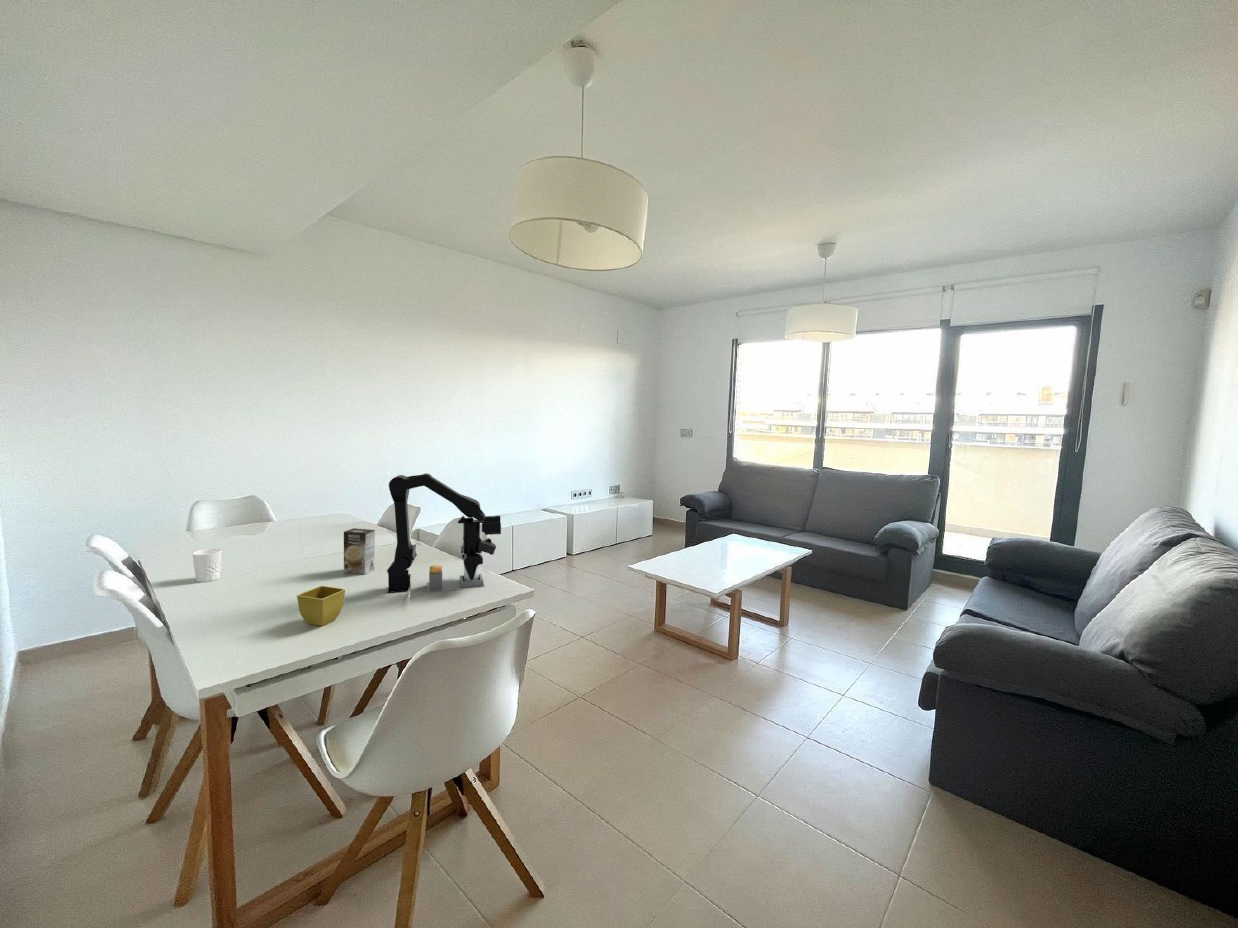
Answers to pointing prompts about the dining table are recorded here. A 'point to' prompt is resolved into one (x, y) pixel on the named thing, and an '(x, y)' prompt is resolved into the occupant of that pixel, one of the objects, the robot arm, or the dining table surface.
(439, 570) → the yellow rounded piece
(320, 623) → the flower pot
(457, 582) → the gray holder stand
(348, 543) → the coffee box
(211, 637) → the dining table surface
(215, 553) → the white cup
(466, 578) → the cylinder
